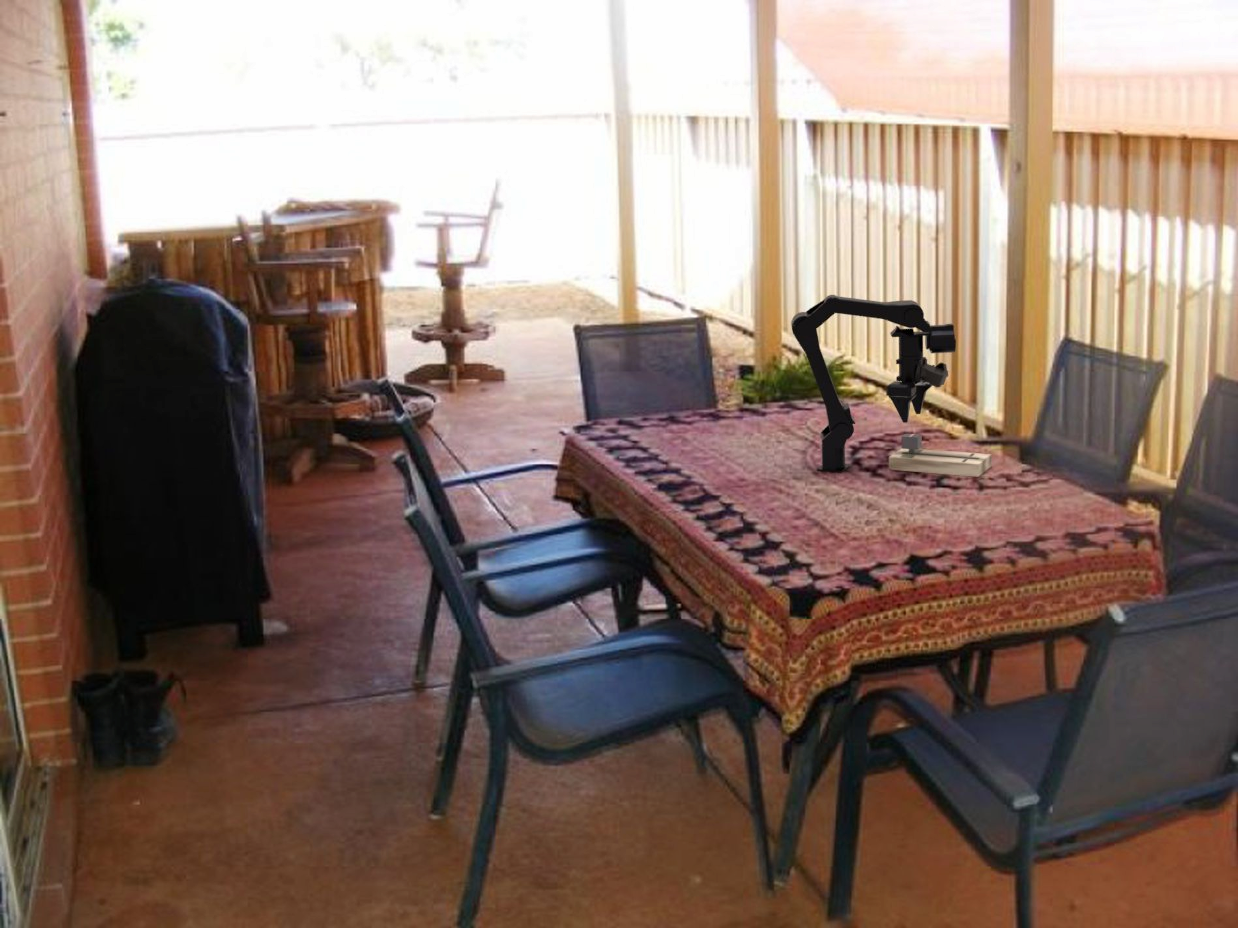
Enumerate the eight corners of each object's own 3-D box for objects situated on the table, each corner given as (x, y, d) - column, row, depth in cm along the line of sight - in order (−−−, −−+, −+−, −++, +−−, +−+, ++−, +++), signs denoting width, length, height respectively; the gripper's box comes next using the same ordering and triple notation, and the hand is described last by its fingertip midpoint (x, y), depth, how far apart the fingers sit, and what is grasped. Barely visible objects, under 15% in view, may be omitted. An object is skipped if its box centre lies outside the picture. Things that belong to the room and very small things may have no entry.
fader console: (978, 476, 353) (978, 463, 353) (888, 469, 364) (888, 456, 363) (991, 466, 362) (991, 453, 361) (903, 459, 373) (902, 447, 372)
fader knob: (917, 454, 363) (917, 437, 362) (901, 452, 365) (901, 436, 364) (921, 451, 366) (921, 434, 365) (906, 450, 368) (905, 433, 367)
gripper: (931, 363, 348) (931, 429, 352) (956, 348, 363) (956, 411, 367) (884, 361, 353) (885, 426, 357) (911, 346, 369) (912, 409, 373)
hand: (911, 418), depth 363 cm, fingers open, 9 cm apart
